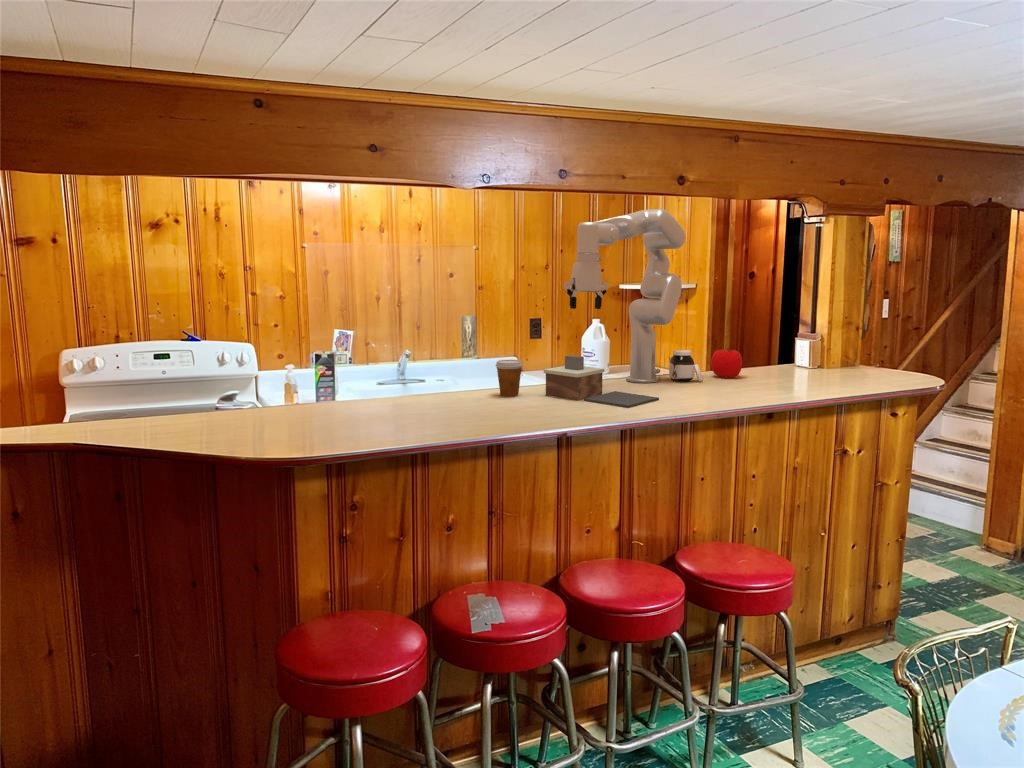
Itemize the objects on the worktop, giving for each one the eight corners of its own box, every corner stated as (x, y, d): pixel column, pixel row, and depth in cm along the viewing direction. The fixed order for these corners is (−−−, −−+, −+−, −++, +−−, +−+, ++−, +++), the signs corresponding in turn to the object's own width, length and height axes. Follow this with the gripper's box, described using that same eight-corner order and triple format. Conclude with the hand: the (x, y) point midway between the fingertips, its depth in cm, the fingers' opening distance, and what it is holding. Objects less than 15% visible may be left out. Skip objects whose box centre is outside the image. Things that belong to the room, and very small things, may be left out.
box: (571, 390, 267) (571, 368, 266) (602, 394, 258) (602, 372, 256) (545, 395, 257) (545, 372, 256) (577, 400, 248) (577, 377, 246)
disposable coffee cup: (525, 393, 262) (525, 359, 260) (519, 398, 253) (519, 363, 251) (499, 392, 264) (499, 359, 262) (492, 397, 255) (492, 362, 253)
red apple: (726, 380, 284) (728, 351, 282) (702, 376, 296) (703, 347, 294) (749, 378, 290) (750, 349, 288) (724, 373, 302) (725, 345, 300)
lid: (571, 370, 267) (571, 352, 266) (604, 375, 256) (604, 355, 255) (543, 375, 256) (543, 356, 255) (577, 380, 246) (577, 360, 245)
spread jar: (665, 379, 289) (666, 349, 287) (691, 377, 292) (692, 348, 290) (681, 384, 278) (682, 353, 276) (707, 382, 281) (709, 352, 279)
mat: (615, 393, 260) (615, 391, 260) (659, 399, 248) (659, 397, 247) (583, 400, 247) (583, 398, 247) (628, 408, 235) (628, 405, 235)
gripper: (603, 260, 260) (601, 308, 263) (560, 258, 254) (558, 308, 256) (614, 259, 254) (612, 309, 256) (570, 257, 247) (568, 309, 249)
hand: (585, 308), depth 256 cm, fingers open, 9 cm apart
